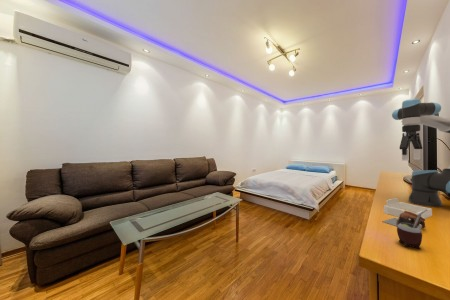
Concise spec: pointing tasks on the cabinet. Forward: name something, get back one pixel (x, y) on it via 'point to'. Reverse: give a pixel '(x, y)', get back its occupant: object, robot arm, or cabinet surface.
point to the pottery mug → (406, 215)
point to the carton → (405, 208)
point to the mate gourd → (410, 233)
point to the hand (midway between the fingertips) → (411, 160)
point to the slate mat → (394, 221)
